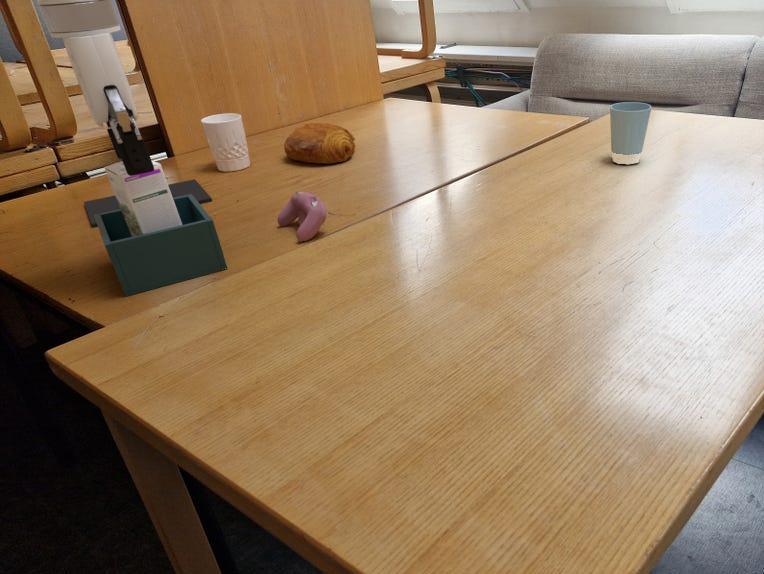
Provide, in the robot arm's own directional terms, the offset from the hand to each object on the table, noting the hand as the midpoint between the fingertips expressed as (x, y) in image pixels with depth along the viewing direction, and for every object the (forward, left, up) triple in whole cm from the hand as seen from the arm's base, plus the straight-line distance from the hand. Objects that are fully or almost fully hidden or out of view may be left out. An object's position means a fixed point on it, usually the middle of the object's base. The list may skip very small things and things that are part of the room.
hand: (135, 164), depth 83 cm
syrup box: (0, 0, -15) cm, 15 cm away
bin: (0, 0, -15) cm, 15 cm away
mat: (+2, +32, -15) cm, 35 cm away
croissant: (+39, +38, -15) cm, 56 cm away
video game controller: (+21, 0, -15) cm, 26 cm away
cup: (+85, -7, -15) cm, 86 cm away
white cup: (+21, +44, -15) cm, 51 cm away
